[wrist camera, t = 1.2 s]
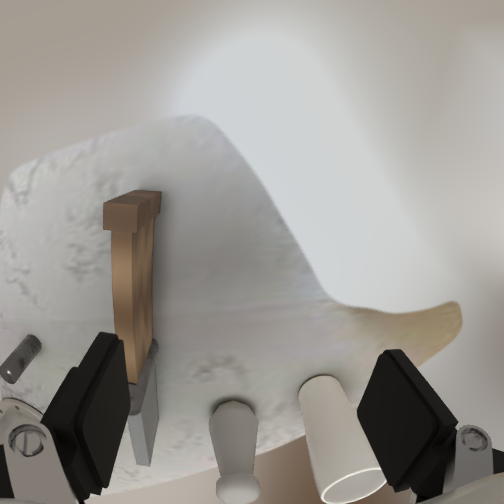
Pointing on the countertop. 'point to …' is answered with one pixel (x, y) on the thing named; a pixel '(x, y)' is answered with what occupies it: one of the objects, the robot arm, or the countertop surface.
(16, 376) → the post
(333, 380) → the drinking glass
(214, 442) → the salt shaker
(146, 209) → the gate
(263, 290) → the countertop surface
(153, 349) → the hinge post
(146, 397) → the grey rectangular slab
